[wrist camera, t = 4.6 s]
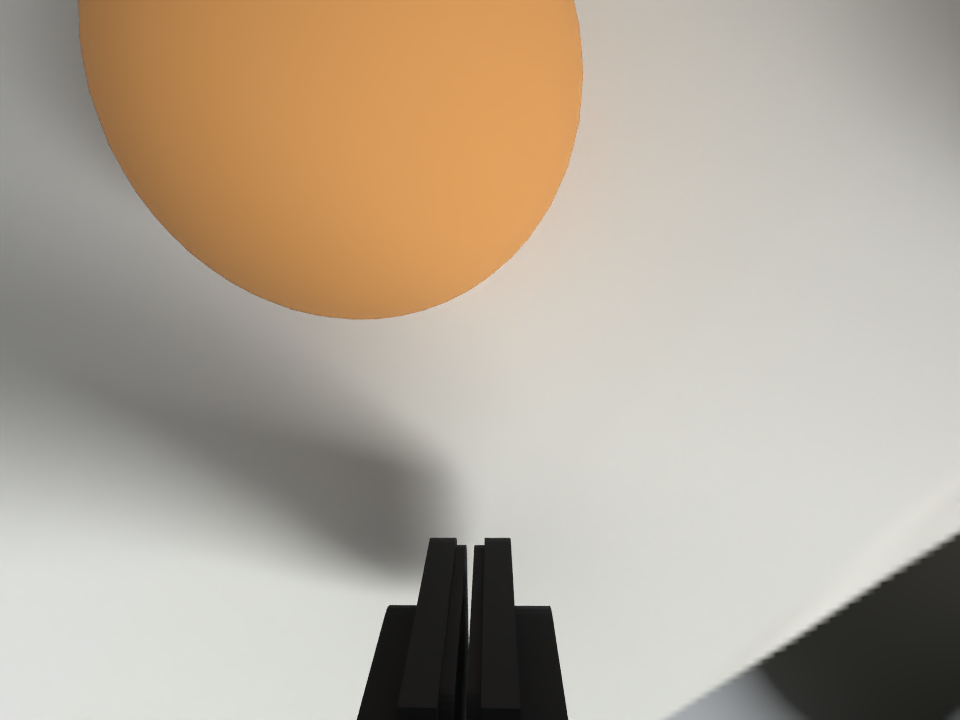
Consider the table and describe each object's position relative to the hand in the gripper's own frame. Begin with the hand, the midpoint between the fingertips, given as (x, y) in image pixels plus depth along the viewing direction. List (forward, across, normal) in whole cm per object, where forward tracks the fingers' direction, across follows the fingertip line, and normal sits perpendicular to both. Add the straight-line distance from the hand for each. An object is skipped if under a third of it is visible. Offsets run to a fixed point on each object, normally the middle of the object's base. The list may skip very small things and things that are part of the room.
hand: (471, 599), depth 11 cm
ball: (-2, +1, -9) cm, 9 cm away
